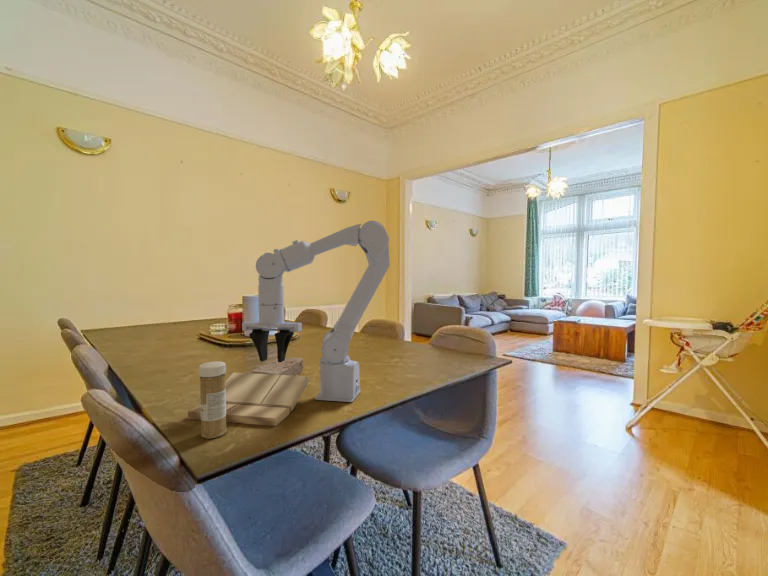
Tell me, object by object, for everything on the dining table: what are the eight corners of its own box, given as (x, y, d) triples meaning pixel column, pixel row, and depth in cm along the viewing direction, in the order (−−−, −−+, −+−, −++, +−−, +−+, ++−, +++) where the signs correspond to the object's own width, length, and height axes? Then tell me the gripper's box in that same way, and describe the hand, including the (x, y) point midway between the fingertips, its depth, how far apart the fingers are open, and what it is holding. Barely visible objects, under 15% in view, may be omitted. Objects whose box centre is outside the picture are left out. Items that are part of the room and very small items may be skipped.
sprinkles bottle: (200, 431, 66) (198, 362, 66) (226, 426, 68) (224, 359, 68) (200, 441, 62) (198, 368, 62) (228, 436, 64) (226, 364, 64)
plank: (308, 381, 84) (307, 376, 84) (291, 411, 75) (290, 405, 75) (235, 377, 88) (233, 372, 87) (210, 405, 79) (208, 399, 78)
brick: (275, 389, 91) (275, 372, 91) (248, 387, 93) (247, 370, 93) (304, 372, 107) (304, 357, 107) (280, 371, 109) (280, 356, 109)
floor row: (289, 414, 74) (289, 406, 74) (275, 426, 68) (275, 417, 68) (207, 407, 78) (207, 400, 78) (188, 418, 72) (187, 410, 72)
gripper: (233, 305, 80) (235, 363, 80) (292, 306, 77) (293, 366, 77) (251, 303, 87) (252, 356, 87) (305, 303, 84) (306, 358, 84)
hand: (272, 360), depth 83 cm, fingers open, 4 cm apart
